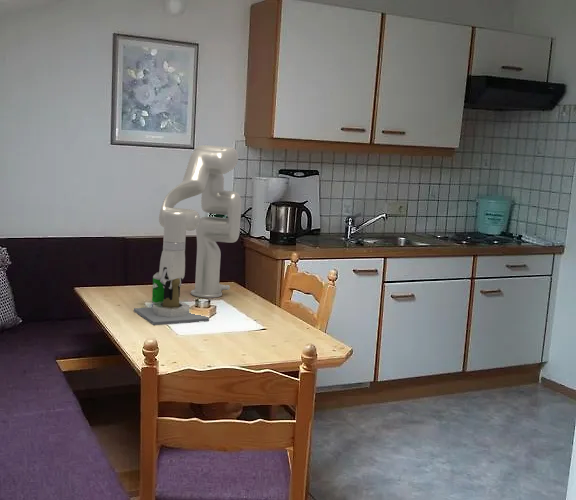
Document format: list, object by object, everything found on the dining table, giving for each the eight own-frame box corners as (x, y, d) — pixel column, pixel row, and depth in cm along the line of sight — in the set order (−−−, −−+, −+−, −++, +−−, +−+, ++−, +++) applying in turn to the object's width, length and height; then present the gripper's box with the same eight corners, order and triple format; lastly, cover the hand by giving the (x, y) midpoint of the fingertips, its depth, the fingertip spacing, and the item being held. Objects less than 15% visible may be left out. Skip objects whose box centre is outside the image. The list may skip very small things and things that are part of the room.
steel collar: (179, 308, 256) (180, 300, 256) (192, 316, 246) (193, 307, 246) (149, 310, 250) (149, 302, 250) (161, 318, 240) (161, 309, 240)
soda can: (174, 304, 267) (176, 272, 265) (169, 308, 259) (170, 276, 258) (155, 302, 267) (156, 271, 266) (149, 306, 260) (150, 274, 258)
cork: (181, 309, 246) (183, 278, 245) (164, 309, 244) (166, 278, 242) (177, 305, 252) (179, 275, 250) (160, 306, 249) (162, 275, 248)
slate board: (186, 307, 262) (186, 305, 262) (208, 321, 245) (209, 318, 245) (133, 311, 252) (133, 308, 251) (153, 325, 235) (153, 322, 235)
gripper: (177, 243, 254) (175, 293, 257) (151, 247, 239) (148, 300, 241) (195, 245, 251) (193, 296, 254) (170, 250, 236) (167, 304, 238)
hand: (171, 297), depth 247 cm, fingers closed on cork, 3 cm apart
